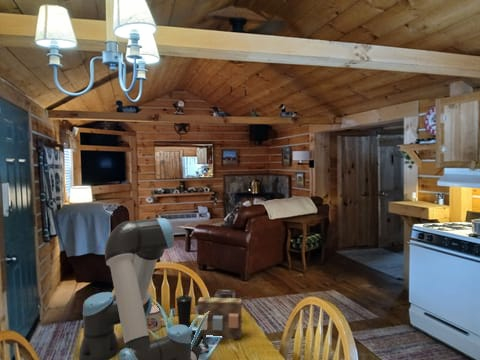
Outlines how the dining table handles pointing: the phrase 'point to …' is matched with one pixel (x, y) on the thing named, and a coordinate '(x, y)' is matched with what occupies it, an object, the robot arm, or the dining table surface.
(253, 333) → the dining table surface
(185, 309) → the drinking cup
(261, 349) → the dining table surface
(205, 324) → the ivory button
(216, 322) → the slate button
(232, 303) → the button console
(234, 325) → the terracotta button
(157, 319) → the teacup with lid
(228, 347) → the dining table surface
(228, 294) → the coffee box
